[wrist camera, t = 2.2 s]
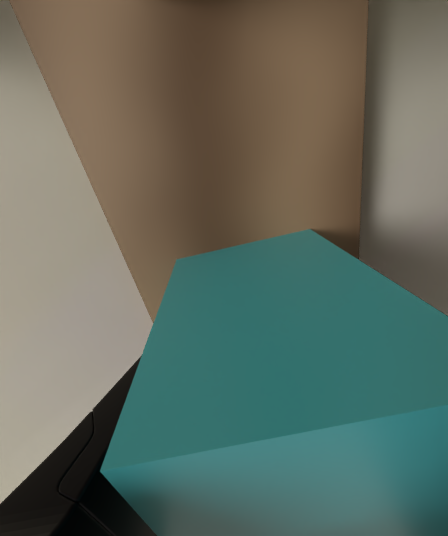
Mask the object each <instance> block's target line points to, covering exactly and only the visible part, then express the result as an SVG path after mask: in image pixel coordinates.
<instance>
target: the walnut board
mask: <svg viewBox="0 0 448 536" xmlns="http://www.w3.org/2000/svg"><path fill="white" fill-rule="evenodd" d="M9 1H10V4H11V6H12V8H13V10H14V13H15V15H16V17H17V19H18V21H19V24H20V26H21V28H22V30H23V33H24V35H25V37H26V39H27V42H28V44H29V46H30V48H31V51H32V53H33V55H34V57H35V60H36V62H37V64H38V66H39V68H40V71H41V73H42V75H43V77H44V80H45V82H46V84H47V86H48V89H49V91H50V93H51V95H52V98H53V100H54V102H55V104H56V107H57V109H58V111H59V113H60V115H61V118H62V120H63V122H64V124H65V127H66V129H67V131H68V133H69V136H70V138H71V140H72V142H73V145H74V147H75V149H76V151H77V154H78V156H79V158H80V160H81V162H82V165H83V167H84V169H85V171H86V174H87V176H88V178H89V180H90V183H91V185H92V187H93V189H94V192H95V194H96V196H97V198H98V201H99V203H100V205H101V207H102V210H103V212H104V214H105V216H106V218H107V221H108V223H109V225H110V227H111V230H112V232H113V234H114V236H115V239H116V241H117V243H118V245H119V248H120V250H121V252H122V254H123V257H124V259H125V261H126V263H127V265H128V268H129V270H130V272H131V274H132V277H133V279H134V281H135V283H136V286H137V288H138V290H139V292H140V295H141V297H142V299H143V301H144V304H145V306H146V308H147V310H148V312H149V315H150V317H151V319H152V321H153V323H154V321H155V318H156V315H157V312H158V310H159V307H160V304H161V301H162V299H163V296H164V293H165V290H166V288H167V285H168V282H169V279H170V276H171V274H172V271H173V268H174V265H175V263H176V260H177V259H181V258H185V257H190V256H194V255H198V254H203V253H207V252H211V251H216V250H220V249H225V248H229V247H233V246H238V245H242V244H246V243H251V242H255V241H259V240H264V239H268V238H273V237H277V236H281V235H286V234H290V233H294V232H299V231H303V230H307V229H311V230H312V231H314V232H315V233H317V234H319V235H320V236H322V237H323V238H325V239H327V240H328V241H330V242H331V243H333V244H334V245H336V246H338V247H339V248H341V249H342V250H344V251H345V252H347V253H349V254H350V255H352V256H353V257H355V258H357V259H358V260H359V238H360V212H361V185H362V159H363V132H364V106H365V80H366V53H367V27H368V0H9Z"/></svg>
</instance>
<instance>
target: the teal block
mask: <svg viewBox="0 0 448 536" xmlns="http://www.w3.org/2000/svg"><path fill="white" fill-rule="evenodd" d="M100 472H101V473H102V474H103V475H104V477H105V478H106V479H107V480H108V481H109V482H110V483H111V484H112V486H113V487H114V488H115V489H116V490H117V491H118V492H119V493H120V495H121V496H122V497H123V498H124V499H125V500H126V501H127V502H128V504H129V505H130V506H131V507H132V508H133V509H134V510H135V511H136V513H137V514H138V515H139V516H140V517H141V518H142V519H143V520H144V522H145V523H146V524H147V525H148V526H149V527H150V528H151V529H152V531H153V532H154V533H155V534H156V535H157V536H448V316H447V315H445V314H443V313H442V312H440V311H439V310H437V309H435V308H434V307H432V306H431V305H429V304H428V303H426V302H424V301H423V300H421V299H420V298H418V297H417V296H415V295H413V294H412V293H410V292H409V291H407V290H405V289H404V288H402V287H401V286H399V285H398V284H396V283H394V282H393V281H391V280H390V279H388V278H387V277H385V276H383V275H382V274H380V273H379V272H377V271H375V270H374V269H372V268H371V267H369V266H368V265H366V264H364V263H363V262H361V261H360V260H358V259H357V258H355V257H353V256H352V255H350V254H349V253H347V252H345V251H344V250H342V249H341V248H339V247H338V246H336V245H334V244H333V243H331V242H330V241H328V240H327V239H325V238H323V237H322V236H320V235H319V234H317V233H315V232H314V231H312V230H311V229H307V230H303V231H299V232H294V233H290V234H286V235H281V236H277V237H273V238H268V239H264V240H259V241H255V242H251V243H246V244H242V245H238V246H233V247H229V248H225V249H220V250H216V251H211V252H207V253H203V254H198V255H194V256H190V257H185V258H181V259H177V260H176V263H175V265H174V268H173V271H172V274H171V276H170V279H169V282H168V285H167V288H166V290H165V293H164V296H163V299H162V301H161V304H160V307H159V310H158V312H157V315H156V318H155V321H154V323H153V326H152V329H151V332H150V334H149V337H148V340H147V343H146V345H145V348H144V351H143V354H142V357H141V359H140V362H139V365H138V368H137V370H136V373H135V376H134V379H133V381H132V384H131V387H130V390H129V392H128V395H127V398H126V401H125V403H124V406H123V409H122V412H121V414H120V417H119V420H118V423H117V425H116V428H115V431H114V434H113V437H112V439H111V442H110V445H109V448H108V450H107V453H106V456H105V459H104V461H103V464H102V467H101V470H100Z"/></svg>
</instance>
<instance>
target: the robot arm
mask: <svg viewBox="0 0 448 536" xmlns="http://www.w3.org/2000/svg"><path fill="white" fill-rule="evenodd" d="M141 357H142V356H141ZM141 357H140V358H139V359H138V360H137V361H136V362H135V363H134V365H133V366H132V367H131V368H130V369H129V370H128V371H127V372H126V373H125V374H124V376H123V377H122V378H121V379H120V380H119V381H118V382H117V383H116V384H115V385H114V387H113V388H112V389H111V390H110V391H109V392H108V393H107V394H106V395H105V396H104V398H103V399H102V400H101V401H100V402H99V403H98V404H97V405H96V406H95V407H94V409H93V412H90V413H89V414H88V415H87V416H86V417H85V418H84V419H83V421H82V422H81V423H80V424H79V425H78V426H77V427H76V428H75V429H74V430H73V431H72V432H71V433H70V435H69V436H68V437H67V438H66V439H65V440H64V441H63V442H62V443H61V444H60V445H59V446H58V447H57V448H56V449H55V450H54V451H53V452H52V453H51V454H50V455H49V456H48V457H47V458H46V459H45V460H44V461H43V462H42V463H41V464H40V465H39V466H38V467H37V468H36V469H35V470H34V471H33V472H32V473H31V474H30V475H29V476H28V477H27V478H26V479H25V480H24V481H23V482H22V483H21V484H20V485H19V486H18V487H17V488H16V489H15V490H14V491H13V492H12V493H11V494H10V495H9V496H8V497H7V498H6V499H5V500H4V501H3V502H2V503H1V504H0V536H157V535H156V534H155V533H154V532H153V531H152V529H151V528H150V527H149V526H148V525H147V524H146V523H145V522H144V520H143V519H142V518H141V517H140V516H139V515H138V514H137V513H136V511H135V510H134V509H133V508H132V507H131V506H130V505H129V504H128V502H127V501H126V500H125V499H124V498H123V497H122V496H121V495H120V493H119V492H118V491H117V490H116V489H115V488H114V487H113V486H112V484H111V483H110V482H109V481H108V480H107V479H106V478H105V477H104V475H103V474H102V473H101V472H100V470H101V467H102V464H103V461H104V459H105V456H106V453H107V450H108V448H109V445H110V442H111V439H112V437H113V434H114V431H115V428H116V425H117V423H118V420H119V417H120V414H121V412H122V409H123V406H124V403H125V401H126V398H127V395H128V392H129V390H130V387H131V384H132V381H133V379H134V376H135V373H136V370H137V368H138V365H139V362H140V359H141Z"/></svg>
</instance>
